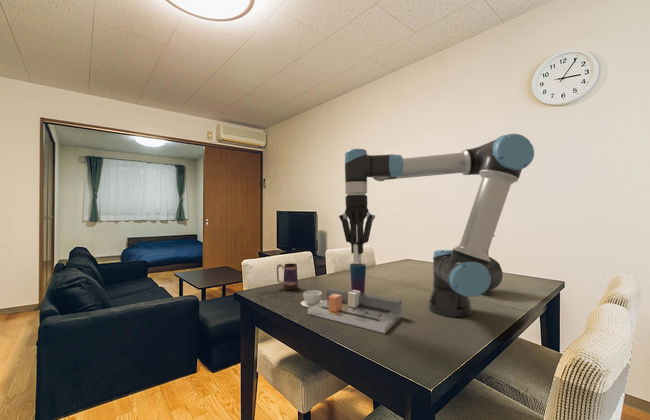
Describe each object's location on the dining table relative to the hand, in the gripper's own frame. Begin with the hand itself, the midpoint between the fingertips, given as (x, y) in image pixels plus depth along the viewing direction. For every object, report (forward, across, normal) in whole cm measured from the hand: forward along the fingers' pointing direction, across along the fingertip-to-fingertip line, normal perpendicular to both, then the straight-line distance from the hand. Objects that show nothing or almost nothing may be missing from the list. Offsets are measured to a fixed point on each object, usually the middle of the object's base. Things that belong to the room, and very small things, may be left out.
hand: (357, 263), depth 100 cm
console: (+20, +4, -4) cm, 21 cm away
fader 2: (+18, +6, -8) cm, 20 cm away
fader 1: (+18, +9, 0) cm, 20 cm away
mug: (+20, +47, -17) cm, 53 cm away
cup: (+20, +11, -21) cm, 31 cm away
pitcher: (+21, -31, -62) cm, 72 cm away
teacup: (+20, +24, -6) cm, 32 cm away
